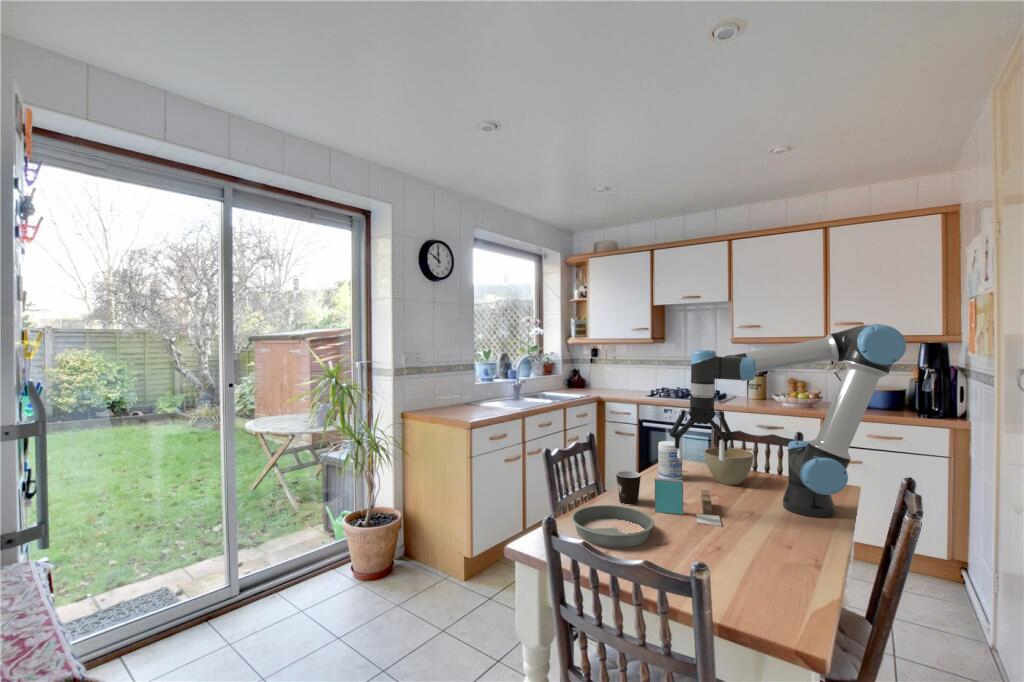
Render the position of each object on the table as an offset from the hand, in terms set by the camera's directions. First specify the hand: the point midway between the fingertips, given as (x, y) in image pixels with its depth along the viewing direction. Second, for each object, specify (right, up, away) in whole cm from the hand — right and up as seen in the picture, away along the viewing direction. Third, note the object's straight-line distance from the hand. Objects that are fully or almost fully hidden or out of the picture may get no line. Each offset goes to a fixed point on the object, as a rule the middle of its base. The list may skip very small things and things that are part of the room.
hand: (700, 459), depth 161 cm
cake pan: (-33, -19, -15) cm, 41 cm away
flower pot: (+24, -18, +33) cm, 45 cm away
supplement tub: (+3, -18, +39) cm, 43 cm away
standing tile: (-10, -18, +1) cm, 21 cm away
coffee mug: (-21, -18, +13) cm, 31 cm away
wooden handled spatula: (+2, -18, -1) cm, 18 cm away
